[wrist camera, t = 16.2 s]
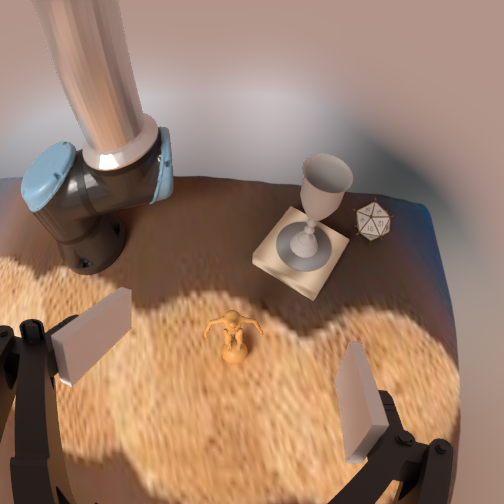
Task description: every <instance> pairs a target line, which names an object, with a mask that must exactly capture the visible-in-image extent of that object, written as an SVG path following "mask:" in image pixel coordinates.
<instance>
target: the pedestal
mask: <svg viewBox="0 0 504 504" xmlns="http://www.w3.org/2000/svg"><path fill="white" fill-rule="evenodd" d="M308 219H309V218H308V217H307V215H306V214H304V213H302V212H301V211H299V210H297V209H295V208H293V207H292V206H291V207H290V208H289V209H288V211H287V212H286V213H285V214H284V216H283V217H282V218H281V219H280V221H279V222H278V223H277V224H276V226H275V227H274V228H273V229H272V231H271V232H270V233H269V234H268V236H267V237H266V238H265V239H264V241H263V242H262V243H261V244H260V246H259V247H258V248H257V249H256V251H255V252H254V253H253V262H252V263H253V264H254V265H256V266H258V267H259V268H261V269H263V270H264V271H266V272H267V273H269V274H271V275H272V276H274V277H275V278H277V279H279V280H280V281H282V282H283V283H285V284H287V285H288V286H290V287H292V288H293V289H295V290H296V291H298V292H300V293H301V294H303V295H304V296H306V297H308V298H309V299H311V300H313V301H314V299H315V298H316V296H317V295H318V293H319V291H320V290H321V288H322V286H323V285H324V283H325V281H326V280H327V278H328V276H329V275H330V273H331V271H332V270H333V268H334V266H335V265H336V263H337V261H338V259H339V258H340V256H341V254H342V252H343V251H344V249H345V247H346V245H347V243H348V242H349V239H348V238H346V237H344V236H343V235H341V234H339V233H337V232H336V231H334V230H332V229H331V228H329V227H327V226H325V225H324V224H322V223H320V222H318V221H316V223H317V224H316V226H315V227H314V229H315V231H314V233H313V235H314V236H315V237H316V240H317V244H318V249H317V252H316V253H315V254H314V255H313V256H311V257H307V258H303V257H299V256H298V255H296V254H295V253H294V252H293V251H292V249H291V247H290V241H291V239H292V237H293V236H294V235H296V234H297V233H299V232H301V231H305V230H304V228H305V226H306V225H308V224H307V220H308Z"/></svg>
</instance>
